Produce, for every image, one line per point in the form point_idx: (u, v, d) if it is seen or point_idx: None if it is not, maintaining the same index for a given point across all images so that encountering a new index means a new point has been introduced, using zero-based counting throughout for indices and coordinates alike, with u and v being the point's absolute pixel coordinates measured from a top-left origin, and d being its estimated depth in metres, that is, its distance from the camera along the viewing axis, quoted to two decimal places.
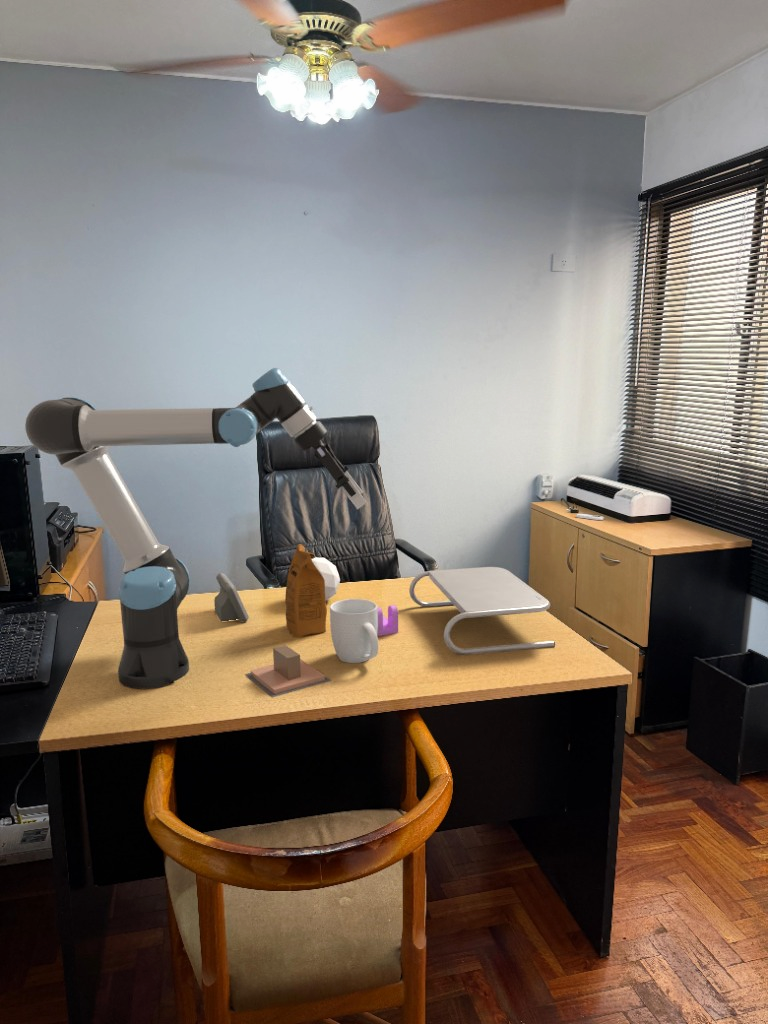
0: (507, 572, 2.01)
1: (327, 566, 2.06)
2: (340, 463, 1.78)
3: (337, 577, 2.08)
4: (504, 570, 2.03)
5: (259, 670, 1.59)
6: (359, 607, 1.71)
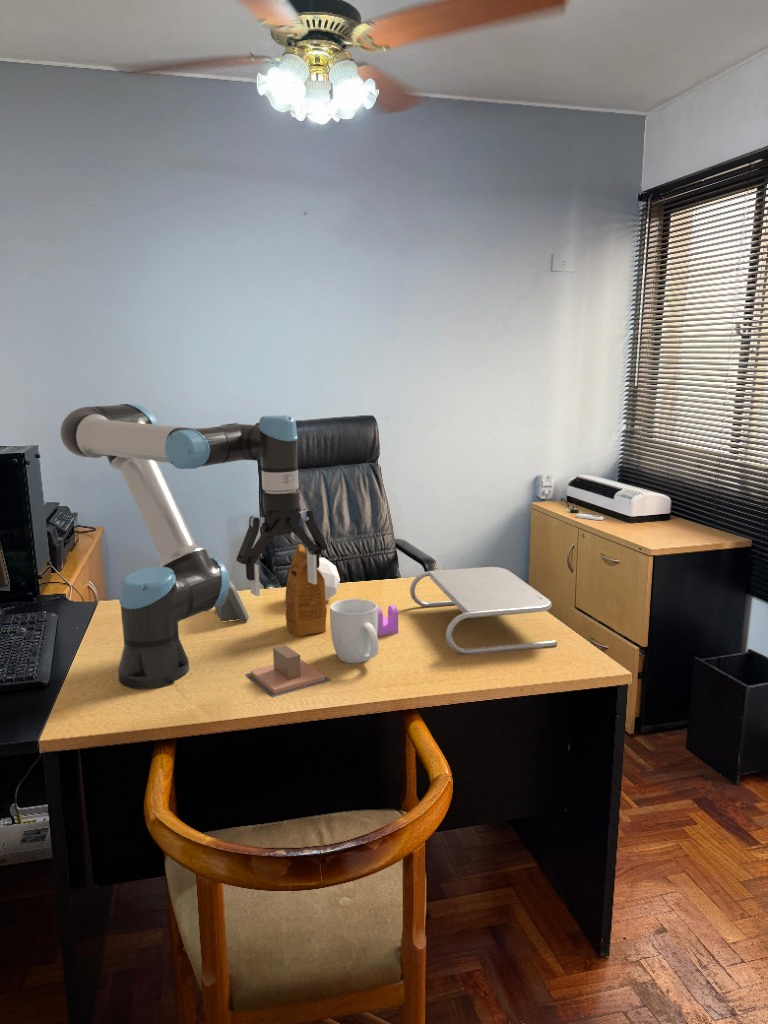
0: (508, 572, 2.01)
1: (327, 566, 2.06)
2: (319, 543, 1.56)
3: (337, 577, 2.08)
4: (504, 570, 2.03)
5: (259, 670, 1.59)
6: (359, 607, 1.71)
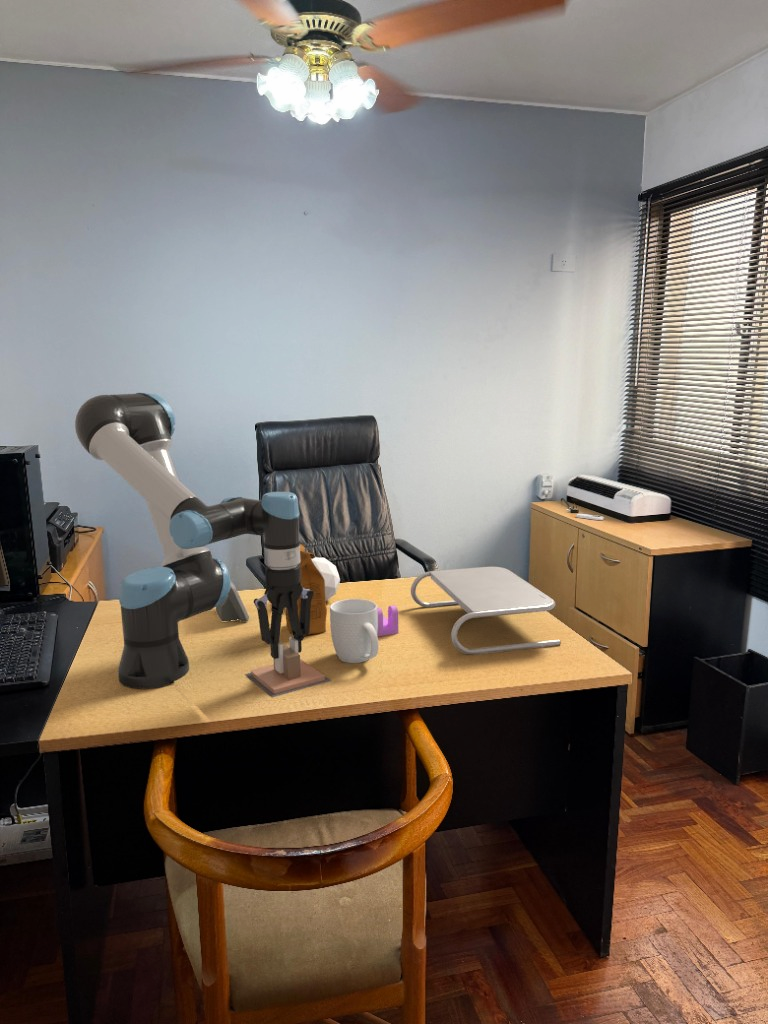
0: (508, 572, 2.01)
1: (327, 566, 2.06)
2: (304, 626, 1.57)
3: (337, 577, 2.08)
4: (505, 570, 2.03)
5: (259, 670, 1.59)
6: (359, 607, 1.71)
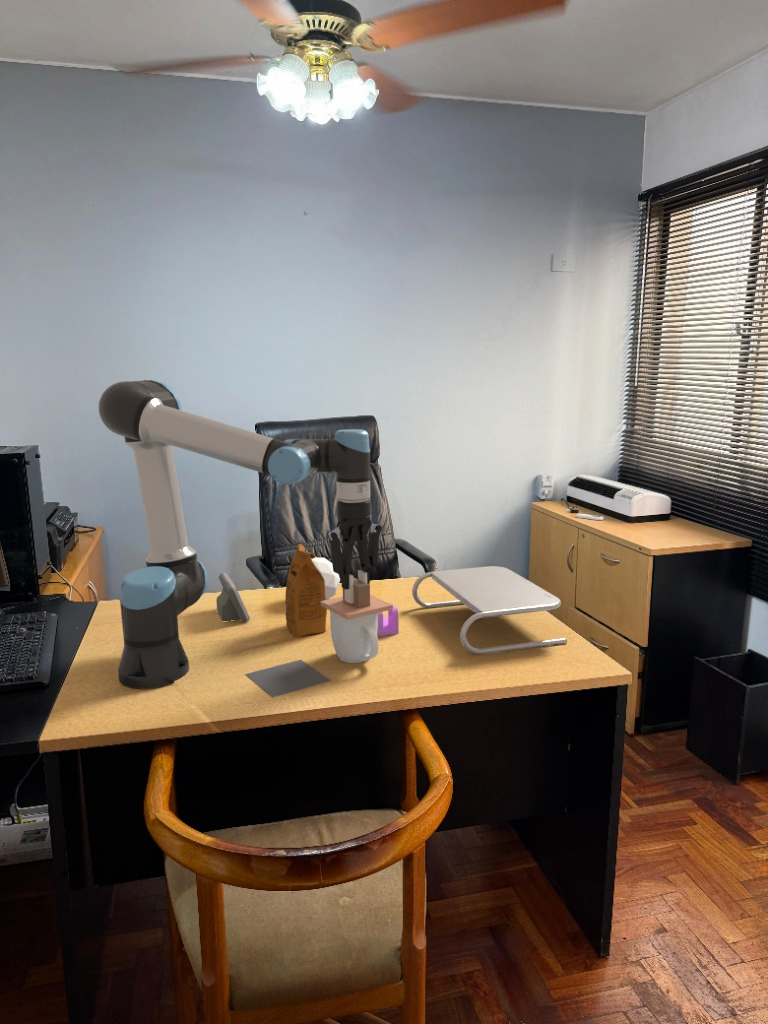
0: (509, 571, 2.02)
1: (327, 566, 2.06)
2: (373, 559, 1.64)
3: (337, 577, 2.08)
4: (505, 569, 2.04)
5: (329, 601, 1.66)
6: None
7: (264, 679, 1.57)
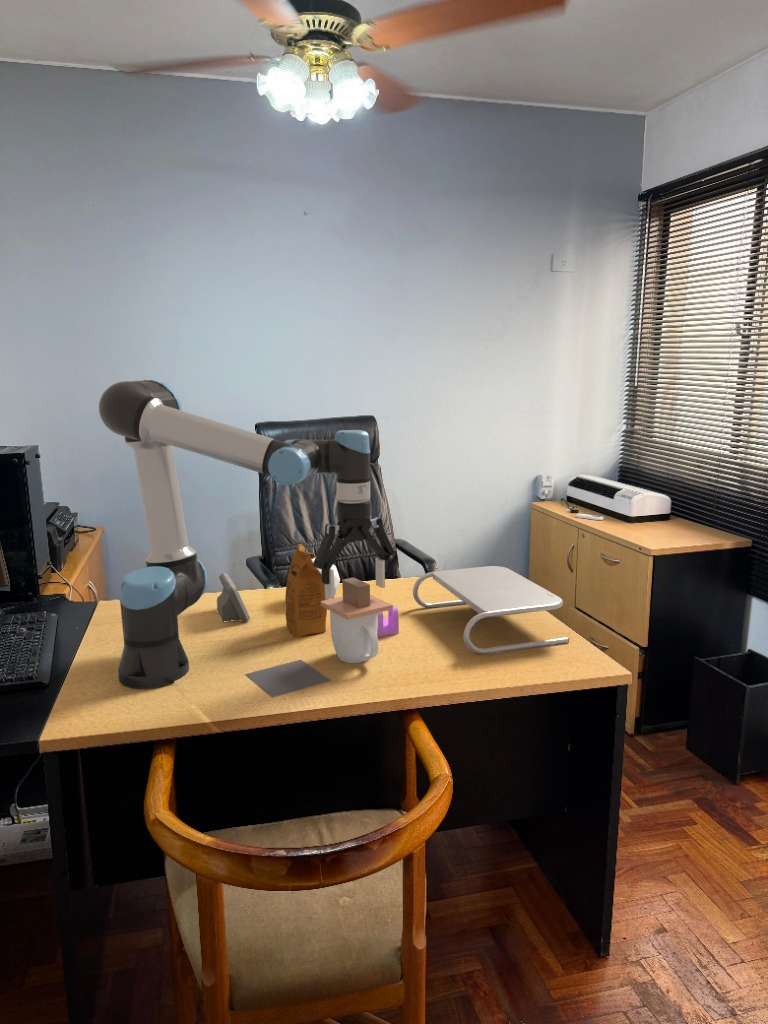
0: (509, 571, 2.02)
1: None
2: (388, 549, 1.66)
3: (337, 577, 2.08)
4: (506, 569, 2.04)
5: (329, 601, 1.66)
6: None
7: (264, 679, 1.57)
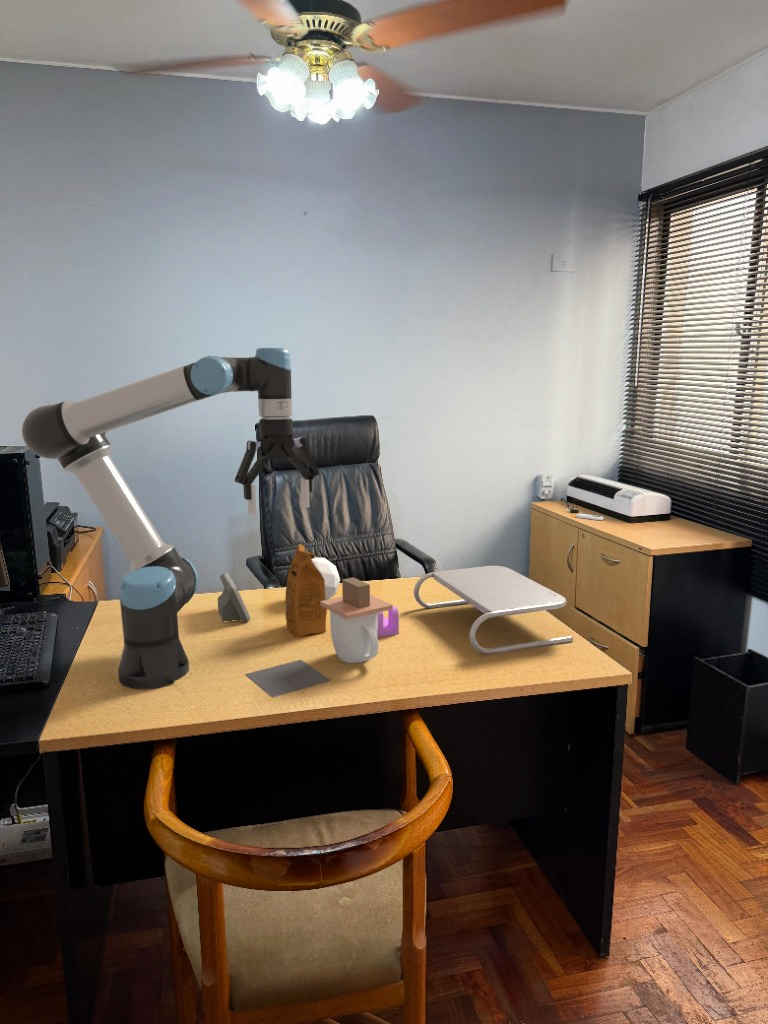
0: (510, 570, 2.02)
1: (327, 566, 2.06)
2: (312, 469, 1.69)
3: (337, 577, 2.08)
4: (506, 568, 2.04)
5: (329, 601, 1.66)
6: None
7: (264, 679, 1.57)
